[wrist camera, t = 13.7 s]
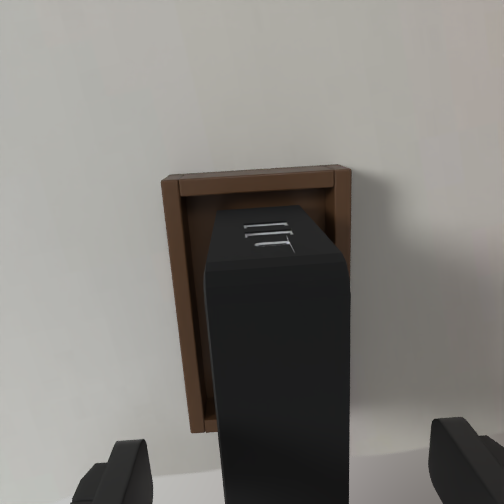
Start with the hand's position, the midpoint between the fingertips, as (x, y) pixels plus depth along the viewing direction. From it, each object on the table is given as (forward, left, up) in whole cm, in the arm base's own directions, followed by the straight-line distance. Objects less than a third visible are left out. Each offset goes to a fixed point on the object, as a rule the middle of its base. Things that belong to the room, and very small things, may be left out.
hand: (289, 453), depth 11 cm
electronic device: (0, 0, -11) cm, 11 cm away
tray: (0, 0, -12) cm, 12 cm away
